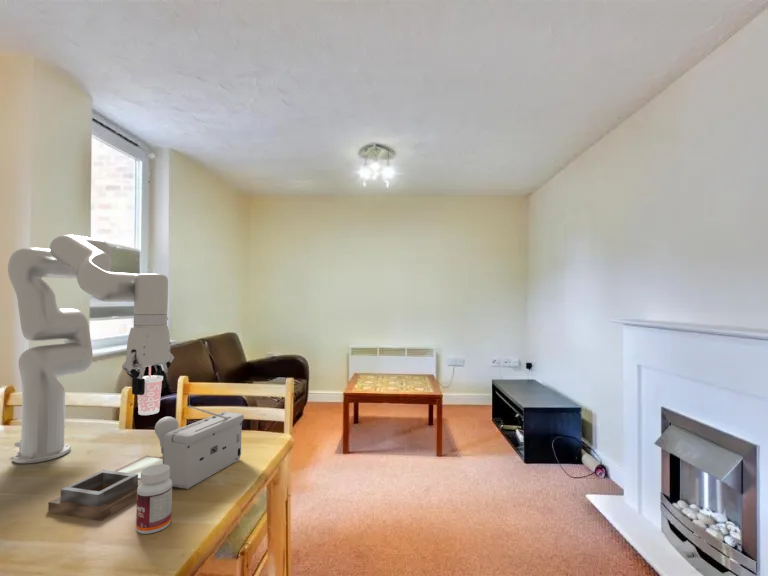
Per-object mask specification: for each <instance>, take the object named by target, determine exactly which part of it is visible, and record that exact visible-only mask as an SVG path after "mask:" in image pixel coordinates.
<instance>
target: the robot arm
mask: <svg viewBox="0 0 768 576" xmlns="http://www.w3.org/2000/svg"><path fill="white" fill-rule="evenodd" d="M111 257H112V249H111V247H110V245H109V244H108V243H107V242H106V241H104V240H103V239H100V238H96V237H88V236H84V235H82V236H81V235H76V234H75V235H74V234H64V235H63V234H62V235H59V236H57V237H55V238H53V239H52V241H50V245H49V248H45V247H24V248H20V249H17V250H15V251H14V252H12V254H11V255H10V257H9V261H8V266H7V273H8V278H9V280H10V283H11V285H12V288H13V290H14V292H15V294H16V299H17V300H16V301H17V308H18V314H19V321H20V328H21V334H22V335H23V337H24V339H25V340H27V341H30V342H48V341H49V342H50V341H60V340H63V342H64V343H55V344H46V345H45V344H44V345H37V346H34V347H33V346H32V347H31V348H29V349H26V350H24V351H23V352H22V353H21V354H20V356H19V358H18V370H19V375H20V379H21V390H22V393H21V397H22V399H21V429H20V430H21V435H20V437H21V438H20V440H19V441H16V442H15V443H14V447H16V448H19V449H18V450H19V451H18V452H16V453H15V454H14V455H13V456H12V460H13V462H14V463H16V464H36V463H42V462H45V461H50V460H54V459H58V458H59V457H63V456H65V455H66V454H68V453H69V452H70V451H71V448H72V447H71V445H70V444H68V443H65V427H66V426H65V424H66V423H65V421H66V420H65V419H66V390H65V388H64V386H63V385H62V383H61V382H60V381H59V379H58V377H62V376H67V375H73V374H75V375H76V374H78V373H84V372H86V371H87V370H89V368H91V366H92V363H93V359H94V358H93V357H94V356H93V355H94V354H93V353H94V352H93V346H92V339H91V333H90V331H91V330H90V326H89V322H88V318H87V316H86V315H85V313H83V311H81V310H80V309H77V308H59V307H58V305H57V300H56V299H57V298H56V293H55V292H54V290H53V289H52V288H51V286H50V285H49V284H48V283H47V282H46V281H45V280H43V279H42V278H53V279H76V281H77V283H78V286H79V288H80V289H81V291H84V292H85V293H86V294H88V296H91V297H92V298H94V299H96V300H98V301H102V302H107V303H108V302H113V303H115V302H128V303H129V302H131V303H133V327H130V330H129V333H128V339H127V344H126V351H125V352H126V355H125V361H124V362H123V364H122V365H121V369H123V370H124V371H125V372H126V374H127V375H128V376H129V379H131V381H132V382H131V395H136V396H138V395H143V394H144V393H145V379H144V378H143V376H145V373H146V372H145V371H146V368H147V367H148V368H149V366H151V367H152V366H153V367H154V369H155V372H154V374H153V375H160V376H163V380H162V386H161V390H164V389H166V387H167V385H166V383H167V379H166V378H167V374H168V372H169V367H170V366H171V365H172V362H173V360H174V359H175V356H174V355H173V353H171V339H170V338H171V337H170V329H169V326H168V320H169V317H168V309H169V308H168V304H169V303H168V301H169V300H168V298H169V278H168V277H167V276H166V275H165V274H162V273H133V272H132V273H130V272H114V271H110V270H111V268H112V259H111Z"/></svg>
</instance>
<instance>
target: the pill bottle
mask: <svg viewBox="0 0 768 576" xmlns="http://www.w3.org/2000/svg"><path fill="white" fill-rule="evenodd" d="M169 477H170V466H169V465H165V464H159V465H153V466H149V467H147V468H145V469H143V470H142V471H141V478H140V481H141V482H142V483H141V484H140V485H139V486H138V488H137V500H136V513H135V514H136V515H135V516H136V517H135V521H136V522H135V528H136V531H137V532H138V533H139V534H142V535H149V534H155V533H158V532H161V531H163V530H164V529H166V528H167V527H168V526H169V525H170V524H171V522H172V505H173V502H172V501H173V500H172V499H173V486H172V481H171V479H170V478H169Z"/></svg>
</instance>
